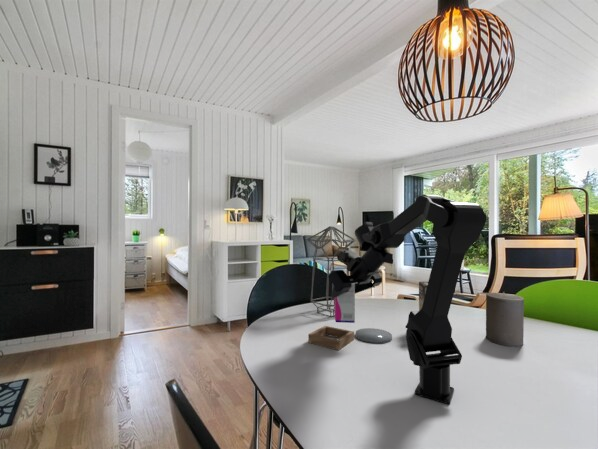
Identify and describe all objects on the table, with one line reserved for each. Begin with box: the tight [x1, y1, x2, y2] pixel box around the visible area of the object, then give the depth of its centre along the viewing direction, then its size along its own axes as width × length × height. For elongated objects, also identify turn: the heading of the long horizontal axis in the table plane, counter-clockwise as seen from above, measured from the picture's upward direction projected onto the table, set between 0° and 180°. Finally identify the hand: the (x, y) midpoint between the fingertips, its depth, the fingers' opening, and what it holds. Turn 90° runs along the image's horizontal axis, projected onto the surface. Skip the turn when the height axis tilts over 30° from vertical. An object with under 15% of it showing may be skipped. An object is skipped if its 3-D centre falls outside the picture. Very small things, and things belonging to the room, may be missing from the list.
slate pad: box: [355, 327, 393, 344], centre depth 95 cm, size 11×11×1 cm
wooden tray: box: [307, 325, 355, 351], centre depth 91 cm, size 10×10×2 cm
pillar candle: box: [485, 291, 525, 348], centre depth 93 cm, size 10×10×15 cm
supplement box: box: [334, 284, 356, 324], centre depth 93 cm, size 6×6×12 cm
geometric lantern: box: [306, 226, 357, 318], centre depth 123 cm, size 16×16×35 cm
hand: (341, 295), depth 94 cm, fingers closed on supplement box, 8 cm apart
